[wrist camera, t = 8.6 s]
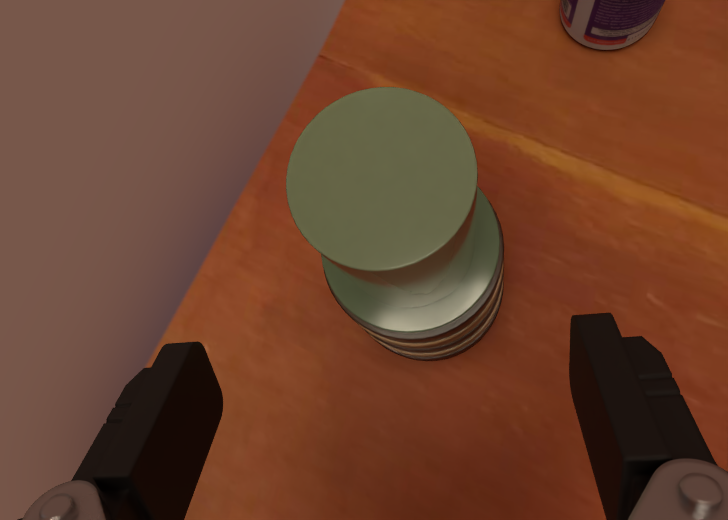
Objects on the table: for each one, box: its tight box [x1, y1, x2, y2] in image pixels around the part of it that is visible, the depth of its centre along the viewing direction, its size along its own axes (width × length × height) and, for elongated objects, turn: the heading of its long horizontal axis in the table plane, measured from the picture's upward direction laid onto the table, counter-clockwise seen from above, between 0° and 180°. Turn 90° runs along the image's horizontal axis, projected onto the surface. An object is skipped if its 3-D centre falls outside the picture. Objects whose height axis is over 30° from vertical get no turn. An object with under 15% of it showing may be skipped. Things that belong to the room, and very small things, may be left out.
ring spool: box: [286, 87, 500, 335], centre depth 20 cm, size 7×7×8 cm
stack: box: [324, 200, 504, 361], centre depth 28 cm, size 8×8×10 cm
